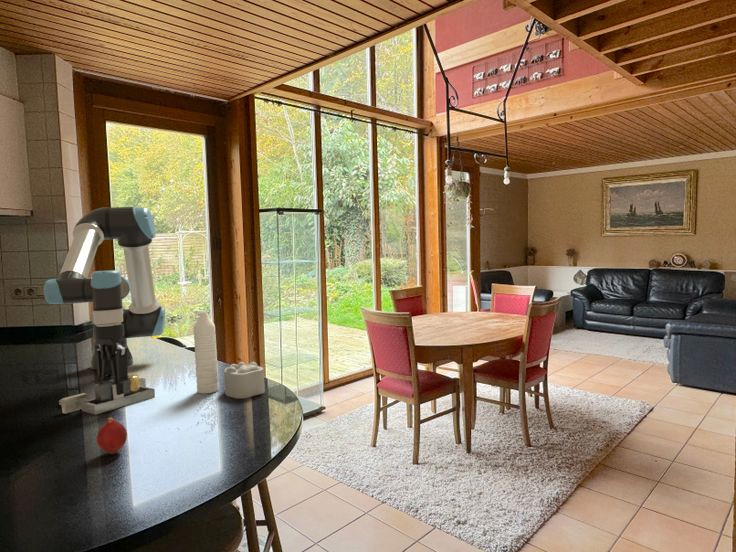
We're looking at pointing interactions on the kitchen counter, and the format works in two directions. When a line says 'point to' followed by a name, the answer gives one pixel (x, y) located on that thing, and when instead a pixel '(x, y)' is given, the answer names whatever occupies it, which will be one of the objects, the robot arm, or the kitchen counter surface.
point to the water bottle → (205, 354)
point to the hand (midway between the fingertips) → (114, 404)
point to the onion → (111, 436)
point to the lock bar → (106, 391)
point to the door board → (91, 407)
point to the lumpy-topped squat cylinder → (244, 380)
